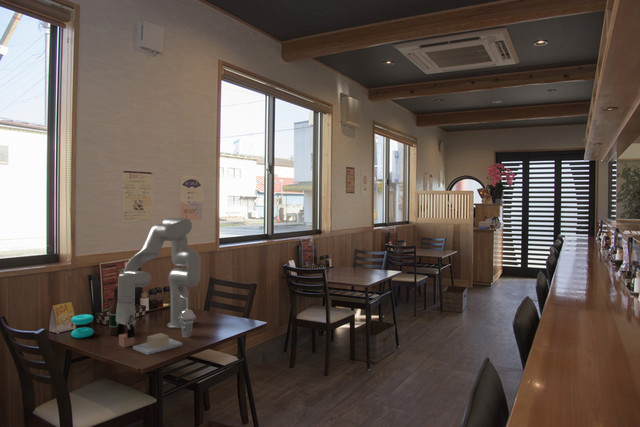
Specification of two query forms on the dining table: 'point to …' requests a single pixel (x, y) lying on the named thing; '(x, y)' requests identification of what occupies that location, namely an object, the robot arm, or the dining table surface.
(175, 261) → the robot arm
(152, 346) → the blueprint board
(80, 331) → the turquoise yo-yo
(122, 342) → the terracotta block
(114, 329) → the beer bottle
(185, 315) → the cup with straw
